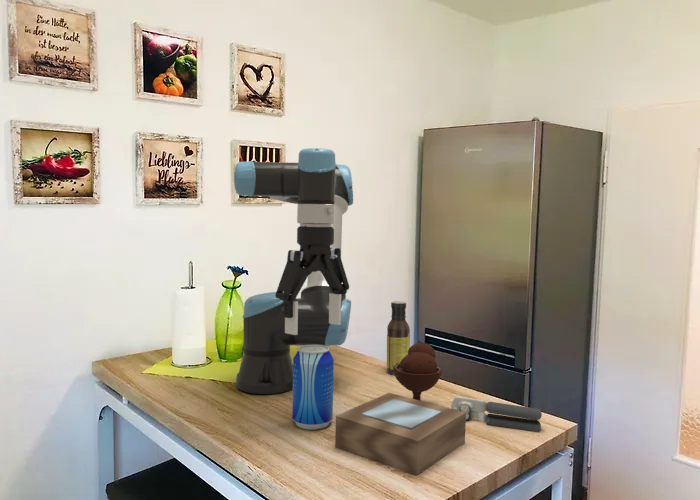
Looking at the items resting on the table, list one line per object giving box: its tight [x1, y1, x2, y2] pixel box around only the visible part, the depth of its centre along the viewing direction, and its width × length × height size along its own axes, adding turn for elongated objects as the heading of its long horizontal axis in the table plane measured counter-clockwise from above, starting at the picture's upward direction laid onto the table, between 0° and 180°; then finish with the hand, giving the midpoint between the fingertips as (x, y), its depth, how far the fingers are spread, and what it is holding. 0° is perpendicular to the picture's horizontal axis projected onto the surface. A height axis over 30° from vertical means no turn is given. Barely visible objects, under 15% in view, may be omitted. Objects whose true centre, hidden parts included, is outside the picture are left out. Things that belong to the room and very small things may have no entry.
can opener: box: [450, 395, 543, 432], centre depth 124 cm, size 19×6×5 cm, turn 66°
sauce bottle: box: [386, 300, 411, 377], centre depth 157 cm, size 6×6×20 cm
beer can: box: [291, 345, 335, 431], centre depth 120 cm, size 8×8×16 cm
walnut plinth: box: [334, 392, 467, 476], centre depth 111 cm, size 18×18×6 cm
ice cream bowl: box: [393, 342, 443, 401], centre depth 130 cm, size 11×11×15 cm
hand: (313, 328), depth 119 cm, fingers open, 13 cm apart
